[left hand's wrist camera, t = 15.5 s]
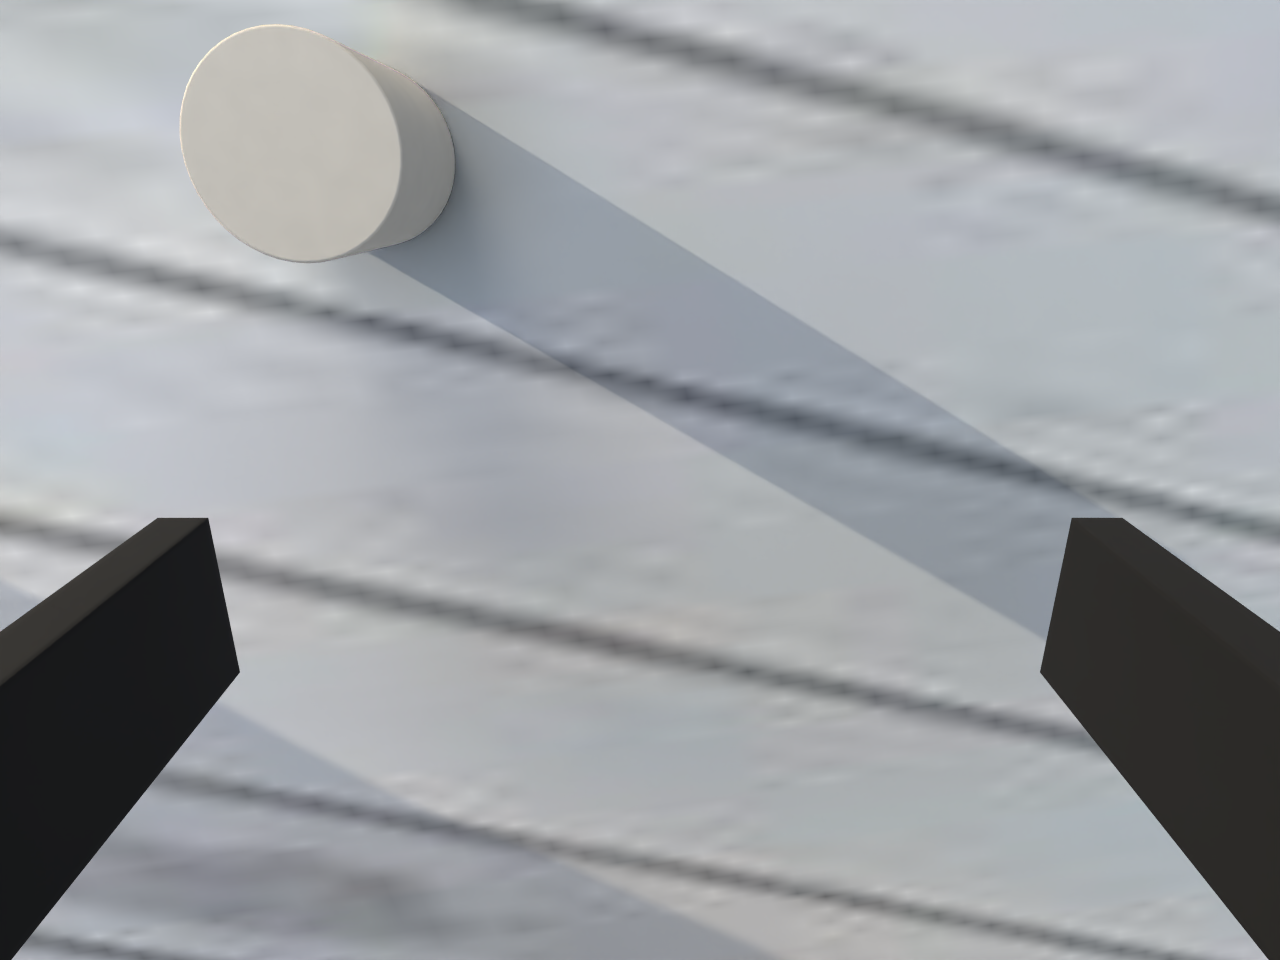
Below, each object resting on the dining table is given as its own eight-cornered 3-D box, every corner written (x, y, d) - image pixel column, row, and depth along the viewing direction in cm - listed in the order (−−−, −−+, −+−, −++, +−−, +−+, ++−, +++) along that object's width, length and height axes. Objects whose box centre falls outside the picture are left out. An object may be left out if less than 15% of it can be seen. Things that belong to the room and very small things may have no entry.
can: (461, 76, 19) (408, 43, 15) (450, 257, 20) (398, 277, 16) (282, 48, 19) (172, 6, 14) (283, 233, 20) (183, 247, 16)
